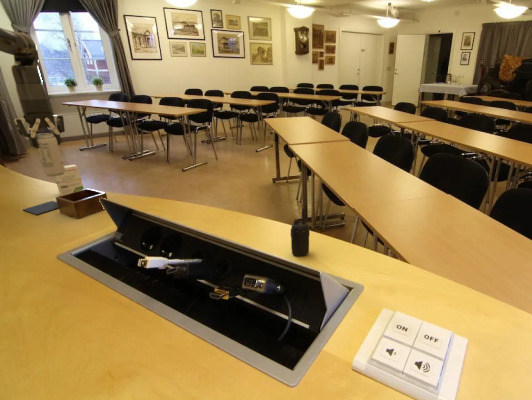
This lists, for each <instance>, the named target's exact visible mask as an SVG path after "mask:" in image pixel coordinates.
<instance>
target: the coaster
mask: <svg viewBox="0 0 532 400" xmlns="http://www.w3.org/2000/svg"><path fill="white" fill-rule="evenodd" d="M56 210H59V207H58V204H57V201H56V200H55V201H54V200H50V201H46V202H44V203H40V204H36V205H33V206H29V207H26V208H23V209H22V211H23V212H27V213H29V214H32V215H34V216H40V215H43V214H46V213H49V212H53V211H56Z"/></svg>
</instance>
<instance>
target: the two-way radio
mask: <svg viewBox="0 0 532 400" xmlns="http://www.w3.org/2000/svg"><path fill="white" fill-rule="evenodd" d="M290 242H291V243H290V245H291V255H293V256H294V257H295V256H296V257H303V256H307V255H308V254H309V253H310V227H309V224H308V223H307V222H306V208H305V206H303V207H302V208H301V222H299V220H298V219H297V218H295V219H293V223H292V224H291V228H290Z"/></svg>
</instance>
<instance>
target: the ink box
mask: <svg viewBox="0 0 532 400" xmlns="http://www.w3.org/2000/svg"><path fill="white" fill-rule="evenodd" d="M64 168H65V172H64V174H63V175H60V176H53V177H54V179H55V183H56V187H57V189H58V192H59V195H60V196H63V195H66V194H69V193H73V192H76V191H80V190H83V189H85V188H84V184H83V181H82V178H81V173H80V170H79V167H78V165H77V164H69V165H64Z"/></svg>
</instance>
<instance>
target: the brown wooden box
mask: <svg viewBox="0 0 532 400" xmlns="http://www.w3.org/2000/svg"><path fill="white" fill-rule="evenodd" d="M101 197H102V198H106V199H108V196H107V193H106V192H105V191H100V190H96V189H93V188H89V187H87V188H84V189H83V190H80V191H76V192H73V193H69V194H66V195H62V196H61V195H60V196H59V195H58V196H55V202H57V204H58V207H59V209H58V210H59V213H60V214H62V215H64V216H67V217H70V218H73V217H75V218H74V219H76V218H78V219H77V220H80V219H83V218H86V217H88V215H89V216H91V215H94V214H97V213H100V212H102V211H101V210H103V207H102V205H101V203H100V202H99V198H101ZM99 211H100V212H99ZM103 211H104V210H103ZM96 212H97V213H96ZM93 213H94V214H93ZM90 214H91V215H90ZM85 216H86V217H85ZM82 217H83V218H82ZM79 218H80V219H79Z"/></svg>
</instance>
